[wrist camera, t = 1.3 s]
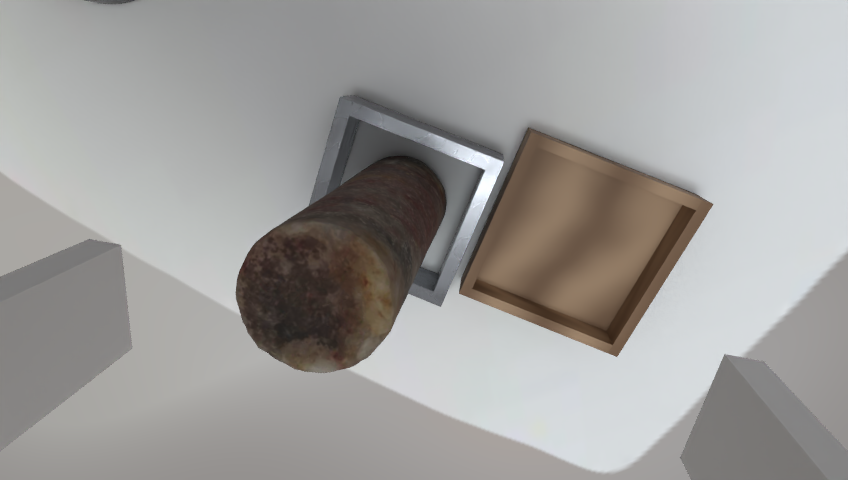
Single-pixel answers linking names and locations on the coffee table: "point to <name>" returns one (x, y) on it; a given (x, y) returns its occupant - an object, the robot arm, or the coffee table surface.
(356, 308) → the rusty brown cylinder
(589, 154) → the tray
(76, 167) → the coffee table surface
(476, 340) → the coffee table surface
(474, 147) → the collar
